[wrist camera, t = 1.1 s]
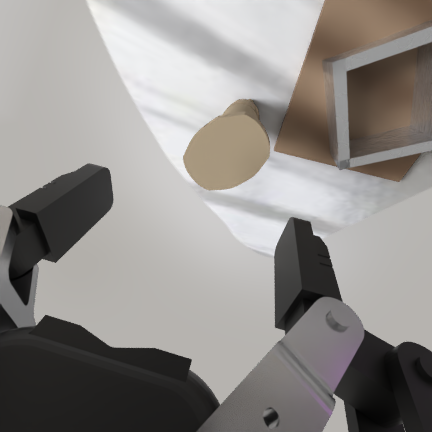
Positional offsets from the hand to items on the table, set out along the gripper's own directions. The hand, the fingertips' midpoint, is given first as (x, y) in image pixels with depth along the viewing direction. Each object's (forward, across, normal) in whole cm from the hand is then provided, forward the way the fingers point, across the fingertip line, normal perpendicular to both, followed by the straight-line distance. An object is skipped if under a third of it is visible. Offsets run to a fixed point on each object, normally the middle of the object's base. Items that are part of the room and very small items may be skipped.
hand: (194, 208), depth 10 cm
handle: (+23, 0, 0) cm, 23 cm away
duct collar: (+22, -13, -4) cm, 26 cm away
